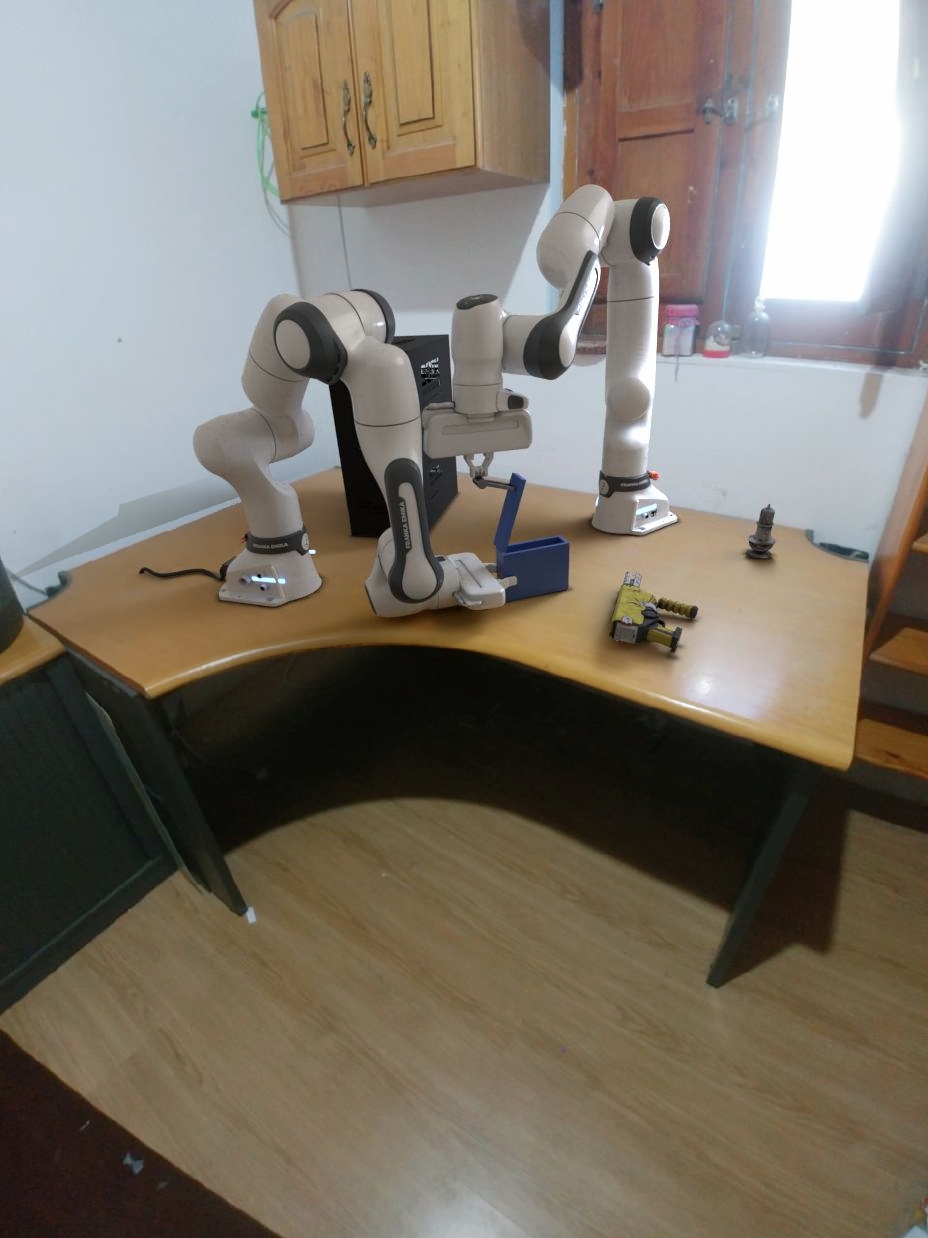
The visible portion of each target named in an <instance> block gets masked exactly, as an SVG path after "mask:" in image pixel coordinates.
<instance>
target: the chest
mask: <svg viewBox="0 0 928 1238" xmlns="http://www.w3.org/2000/svg"><path fill="white" fill-rule="evenodd" d="M570 545H571V543H570V542H569V541H568V540H567V539H565V537H563V536H562V535H560V534H557V535H553V536H547V537H540V538H536V539H530V540H525V541H520V542H514V543H509V544H508V547H507V551H506V553H504V552H500V551H499V550H498V548H497V547H496V546H495V564H496V568H497V573H496V579H501V580H502V579H504V578H506V576H507V575H514V576H515V577H516V578H517V584H516V585H513V586H509V587H508V588H506V589H505V603H508V602H513V601H517V600H521V599H527V598H531V597H536V596H541V595H546V594H552V593H556V592H560V591H565V590H568V589H569V585H570V584H569V579H570V577H569V576H570V573H569V572H570V549H571V548H570Z"/></svg>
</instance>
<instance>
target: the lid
mask: <svg viewBox="0 0 928 1238" xmlns="http://www.w3.org/2000/svg"><path fill="white" fill-rule="evenodd" d="M471 479H472V483H473V485H475V486H476V487H477V488H478V489H480V490H485V489H486V488H487V487H488V488H495V489H500V490H506V494H505V497H504V502H503V505H502V508H501V513H500V516H499V520H498V523H497V527H496V530H495V535H494V538H493V542H492V544H493V545H494V547H495V548H496V547H497V548H498V550H499V551H500V552H504V553H506V551H507V547H508V544H510V540H511V536H512V533H513V530H514V526H515V522H516V518H517V516H518V511H519V508H520V504H521V500H522V498H523V494H524V490H525V487H526V483H527V479H526V478H524V477H523V476H522V475H520V474H519V473H516V472H512V473H511V475H510V479H509V482H504V481H499V480H492V479H487V478H485V477H477V478H471Z"/></svg>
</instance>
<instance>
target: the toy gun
mask: <svg viewBox="0 0 928 1238" xmlns="http://www.w3.org/2000/svg"><path fill="white" fill-rule="evenodd" d="M632 577H634V578H632ZM642 578H643V576H642V574H641V573H640V572H636V573H635V574H633V571H630V570H629V571H626V572H625V576H624V579H623V583H622V584H621V586H620V589H619V592H618V597H617V599H616V603H615V608H614V611H613V615H612V617H611V621H610V625H609V626H610V627H609V632H608V637H609V638H610V640H614V641H617V644H619V645H621V644H623V646H624V645H625V646H627V645H628V644H631V645H638V644H642V643H644V642H646V641H650V642H653V643H656V644H660V645H663V646H665V647H667V648H669V649H670V653H673V654H675V652H676V651H677V648H678V646H679V644H680V640H681V637H682V633H683V628H682V627H680V626H675V630H672V629H670V628H667V627H666V622H665V621H664V620H662V619H660V617H661V615H660V613H659V612H658V609H659V610H662V611H663V610H665V611H666V612H672V613H673V614H678V615H680V616H685V617H686V618H689V619H691V620H693V619H696V617H697V615H698V612H699V607H698V606H696V605H692V604H687V603H685V602H680V601H678V600H676V601H674V600H673V599H667V597H660V598H659V599H658V600H657V598H656V596H655V595H654V594H653V593H651V592H647V591H644V590H642V589H640V586H641V581H642Z"/></svg>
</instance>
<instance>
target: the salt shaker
mask: <svg viewBox="0 0 928 1238" xmlns="http://www.w3.org/2000/svg"><path fill="white" fill-rule="evenodd" d="M771 506H772V505H771V504H770V503H768V504H767V506H766V507H762V508H761V510H760V513H759V518H758V521H756V531H755V533H754V534H750V535H749V536H747V540H748V545H749V547H750V548H749V549H747V550H746V554H747V556H749V557H752V558H755V559H768V558H771V557H772V556H773V555H772V552H771V551H770V550H772V548H773V547H774V545H775V544H776V543H777V539H776V538H775V537H773V536H772V529H773V527H774V526H775V523H774V519H775V514H776V511H775V509H774V508H772V507H771Z"/></svg>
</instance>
